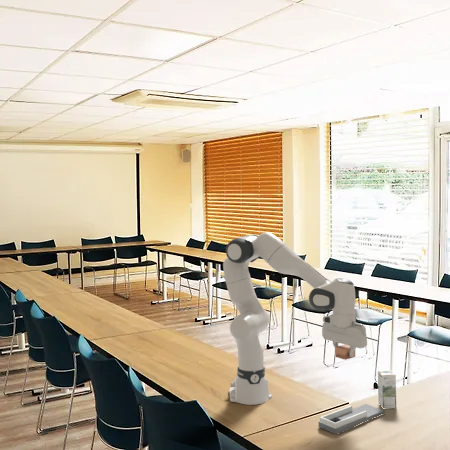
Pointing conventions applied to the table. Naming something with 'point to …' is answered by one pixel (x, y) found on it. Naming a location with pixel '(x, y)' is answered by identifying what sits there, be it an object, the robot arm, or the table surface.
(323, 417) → the channel
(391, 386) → the syrup box
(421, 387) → the table surface
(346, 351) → the block
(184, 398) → the table surface
